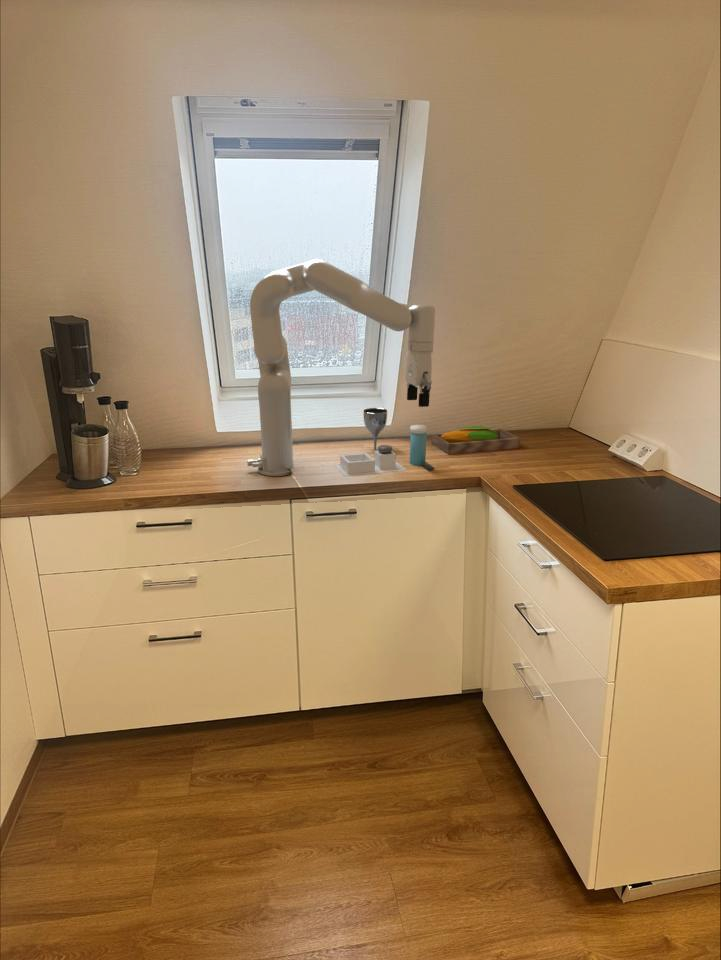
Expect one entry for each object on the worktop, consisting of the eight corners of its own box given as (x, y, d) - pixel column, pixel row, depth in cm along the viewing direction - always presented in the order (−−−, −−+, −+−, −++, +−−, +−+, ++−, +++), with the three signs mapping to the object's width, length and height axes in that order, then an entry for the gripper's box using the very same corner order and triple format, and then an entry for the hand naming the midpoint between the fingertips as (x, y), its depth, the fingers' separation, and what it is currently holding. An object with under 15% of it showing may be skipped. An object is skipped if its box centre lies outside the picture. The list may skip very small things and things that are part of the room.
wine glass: (377, 458, 222) (378, 414, 217) (358, 454, 227) (358, 411, 222) (391, 453, 228) (391, 409, 223) (372, 449, 233) (372, 406, 228)
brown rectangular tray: (447, 454, 226) (448, 444, 225) (431, 443, 240) (431, 434, 238) (519, 447, 234) (520, 438, 233) (500, 437, 247) (500, 428, 246)
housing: (343, 481, 200) (343, 461, 198) (333, 469, 211) (333, 451, 209) (406, 474, 205) (406, 456, 203) (393, 463, 216) (393, 446, 214)
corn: (500, 428, 229) (441, 427, 230) (499, 450, 231) (441, 449, 232) (497, 424, 236) (440, 424, 237) (495, 445, 238) (439, 445, 239)
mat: (410, 472, 208) (410, 469, 208) (401, 465, 215) (401, 462, 215) (434, 470, 210) (434, 467, 210) (424, 462, 217) (424, 460, 217)
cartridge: (412, 468, 209) (413, 429, 205) (406, 463, 214) (407, 425, 210) (428, 466, 211) (430, 428, 206) (422, 461, 215) (423, 424, 211)
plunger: (380, 467, 206) (380, 449, 204) (376, 463, 210) (376, 445, 208) (393, 466, 207) (394, 448, 206) (389, 462, 211) (389, 444, 210)
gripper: (398, 343, 207) (396, 398, 213) (419, 351, 192) (416, 409, 197) (421, 343, 209) (418, 397, 215) (443, 350, 194) (440, 408, 199)
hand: (417, 403), depth 206 cm, fingers open, 9 cm apart
